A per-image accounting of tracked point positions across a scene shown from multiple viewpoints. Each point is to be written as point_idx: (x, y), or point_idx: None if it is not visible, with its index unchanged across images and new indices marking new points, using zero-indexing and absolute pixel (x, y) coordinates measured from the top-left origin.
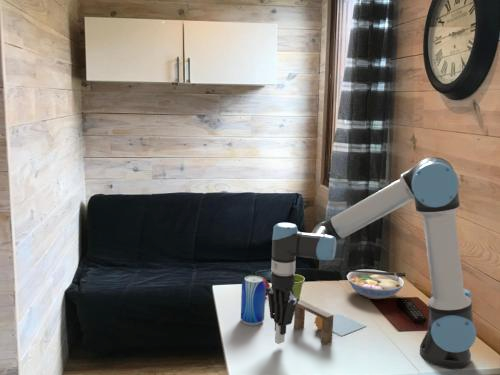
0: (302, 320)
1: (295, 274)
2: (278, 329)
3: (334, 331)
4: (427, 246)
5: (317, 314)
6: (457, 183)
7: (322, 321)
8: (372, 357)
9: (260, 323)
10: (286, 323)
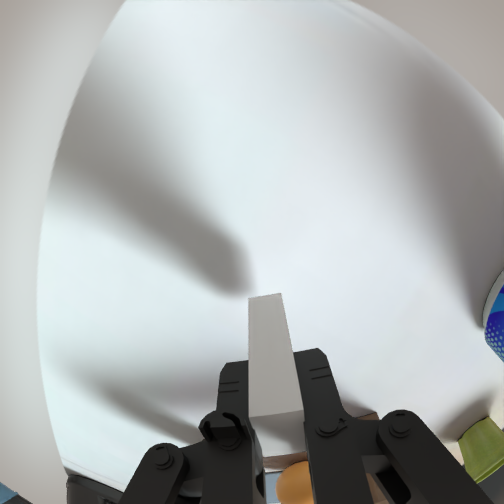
0: None
1: (494, 470)
2: (253, 377)
3: (271, 475)
4: None
5: None
6: None
7: None
8: (107, 456)
9: (483, 318)
10: (141, 468)
